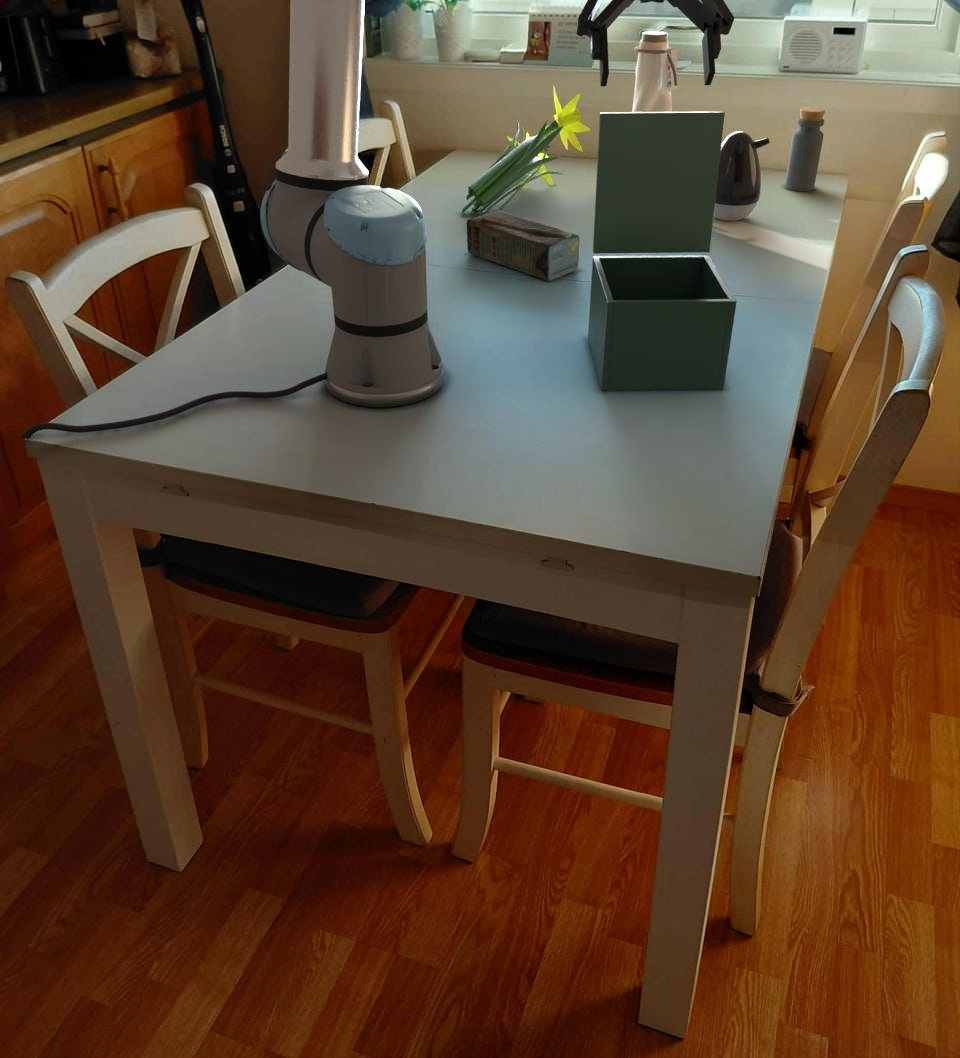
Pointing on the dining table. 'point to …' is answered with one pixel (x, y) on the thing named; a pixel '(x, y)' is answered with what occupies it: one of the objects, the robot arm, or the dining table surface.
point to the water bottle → (655, 73)
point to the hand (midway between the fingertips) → (657, 79)
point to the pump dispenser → (738, 177)
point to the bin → (659, 323)
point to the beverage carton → (523, 244)
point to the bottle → (805, 150)
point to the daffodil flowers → (525, 159)
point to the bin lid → (656, 181)
